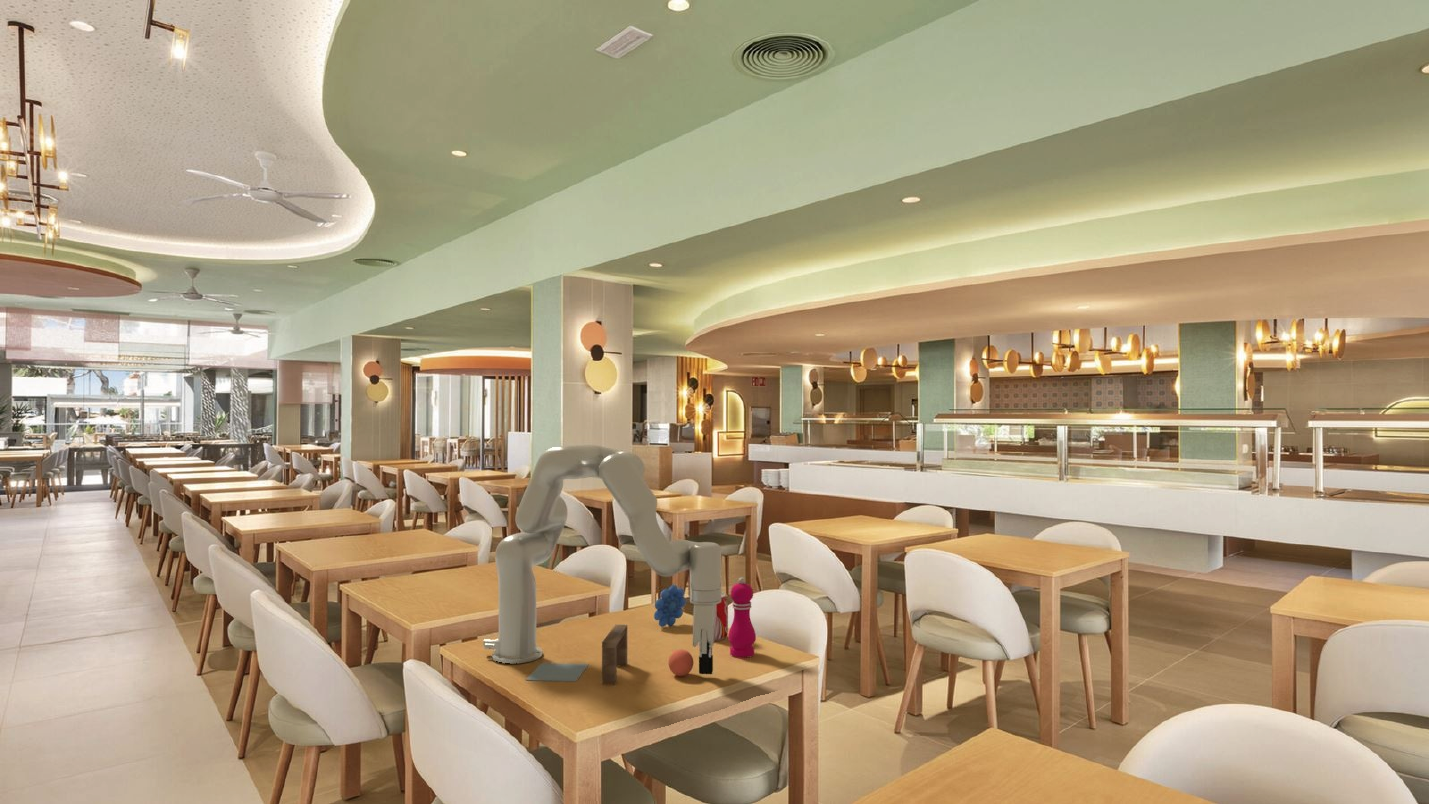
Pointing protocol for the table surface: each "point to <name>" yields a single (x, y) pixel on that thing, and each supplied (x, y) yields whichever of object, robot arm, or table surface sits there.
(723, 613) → the soda can
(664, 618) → the grapes
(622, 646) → the bridge
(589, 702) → the table surface
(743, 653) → the pepper mill
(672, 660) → the ball
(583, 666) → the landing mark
